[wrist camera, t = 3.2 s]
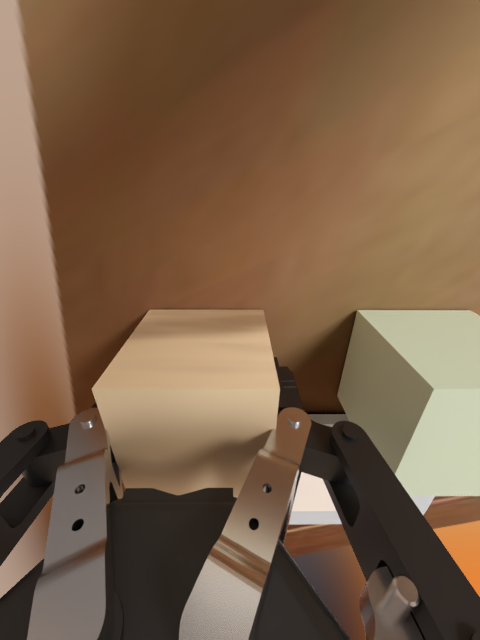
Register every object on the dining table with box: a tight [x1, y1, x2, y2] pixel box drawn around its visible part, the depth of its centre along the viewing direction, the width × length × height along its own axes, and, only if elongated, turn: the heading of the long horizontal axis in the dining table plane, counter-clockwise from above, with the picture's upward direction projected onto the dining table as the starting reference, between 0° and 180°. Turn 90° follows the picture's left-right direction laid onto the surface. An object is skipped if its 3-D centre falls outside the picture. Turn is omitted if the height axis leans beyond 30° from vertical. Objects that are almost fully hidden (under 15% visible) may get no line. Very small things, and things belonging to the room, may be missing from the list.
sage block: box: [337, 310, 480, 496], centre depth 12 cm, size 6×6×6 cm
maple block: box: [92, 310, 280, 497], centre depth 12 cm, size 6×6×6 cm
